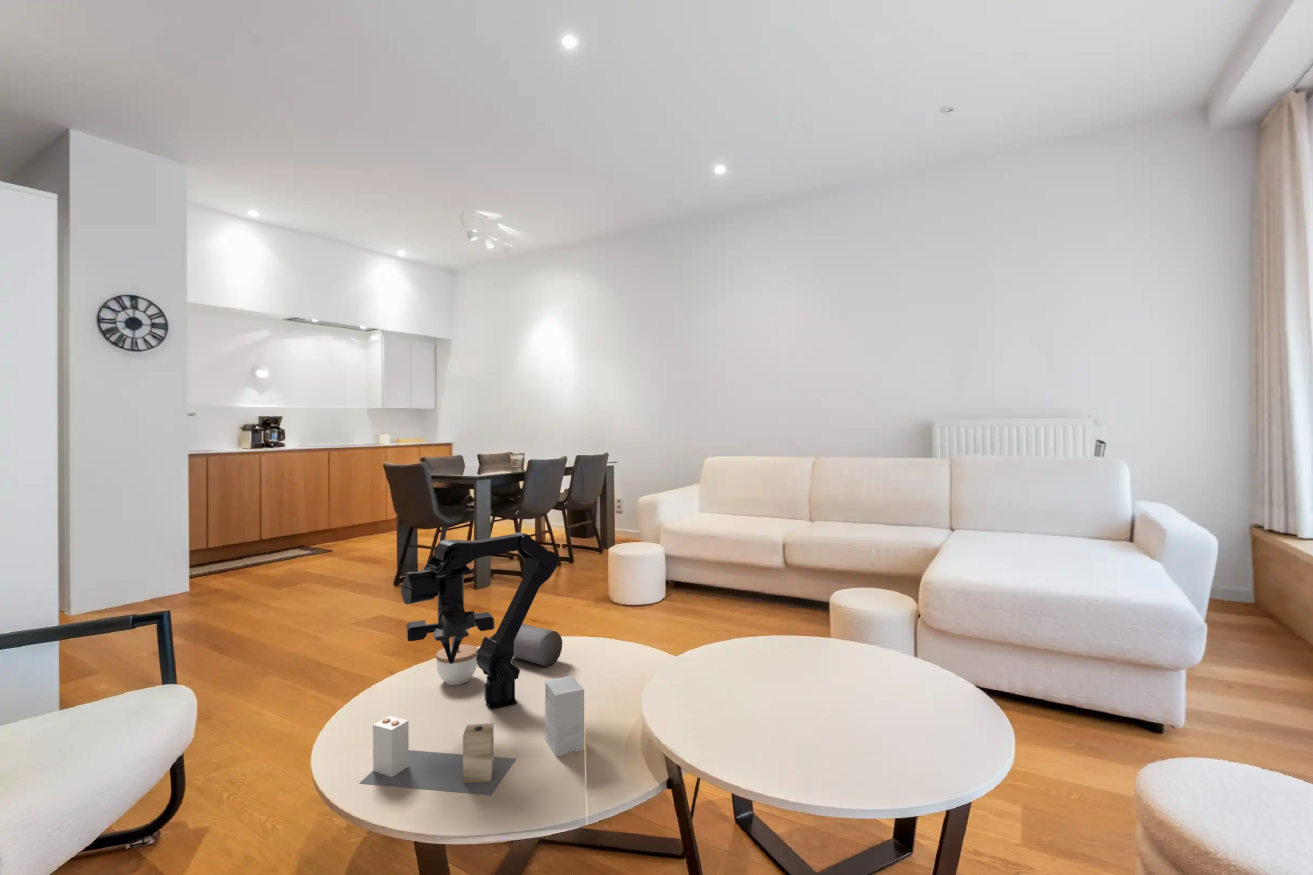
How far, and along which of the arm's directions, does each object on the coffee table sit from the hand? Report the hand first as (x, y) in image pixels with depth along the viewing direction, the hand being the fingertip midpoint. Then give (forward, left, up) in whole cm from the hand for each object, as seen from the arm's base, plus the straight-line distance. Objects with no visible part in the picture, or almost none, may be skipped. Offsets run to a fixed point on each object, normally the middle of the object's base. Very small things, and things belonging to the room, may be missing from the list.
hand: (451, 662), depth 135 cm
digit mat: (+4, +22, -13) cm, 26 cm away
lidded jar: (-4, -22, -13) cm, 26 cm away
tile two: (+13, +17, -12) cm, 25 cm away
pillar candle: (-29, -20, -8) cm, 36 cm away
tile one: (-2, +27, -12) cm, 30 cm away
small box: (-20, +23, -13) cm, 33 cm away
